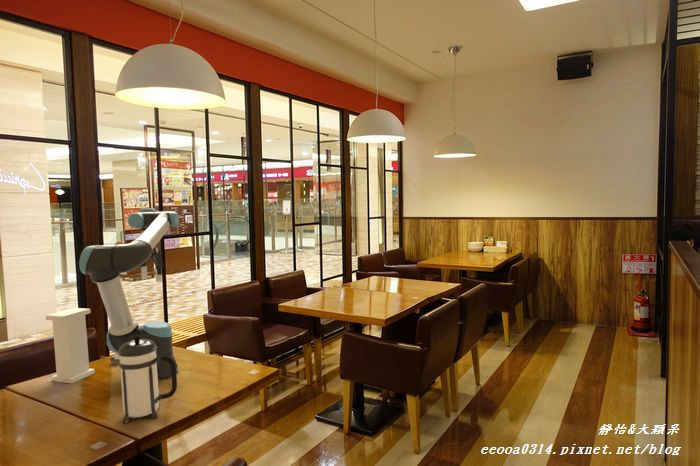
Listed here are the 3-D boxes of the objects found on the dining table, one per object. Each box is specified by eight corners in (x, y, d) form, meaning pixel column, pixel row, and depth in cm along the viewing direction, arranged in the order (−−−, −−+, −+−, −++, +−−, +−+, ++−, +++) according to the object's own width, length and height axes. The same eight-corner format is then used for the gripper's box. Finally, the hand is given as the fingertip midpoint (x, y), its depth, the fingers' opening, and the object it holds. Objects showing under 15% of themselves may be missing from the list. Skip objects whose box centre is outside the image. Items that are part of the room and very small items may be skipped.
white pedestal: (69, 384, 200) (64, 316, 198) (49, 381, 204) (43, 315, 202) (96, 372, 213) (91, 308, 211) (77, 370, 217) (72, 307, 215)
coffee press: (137, 429, 158) (131, 343, 155) (110, 418, 166) (104, 337, 164) (179, 409, 172) (175, 330, 170) (153, 400, 181) (148, 325, 179)
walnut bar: (119, 365, 223) (118, 357, 223) (111, 365, 223) (110, 357, 223) (139, 349, 247) (138, 341, 247) (131, 349, 247) (131, 342, 247)
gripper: (129, 238, 238) (132, 279, 239) (155, 239, 223) (158, 283, 224) (143, 237, 244) (145, 277, 245) (169, 238, 229) (172, 280, 230)
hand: (151, 280), depth 235 cm, fingers open, 13 cm apart
